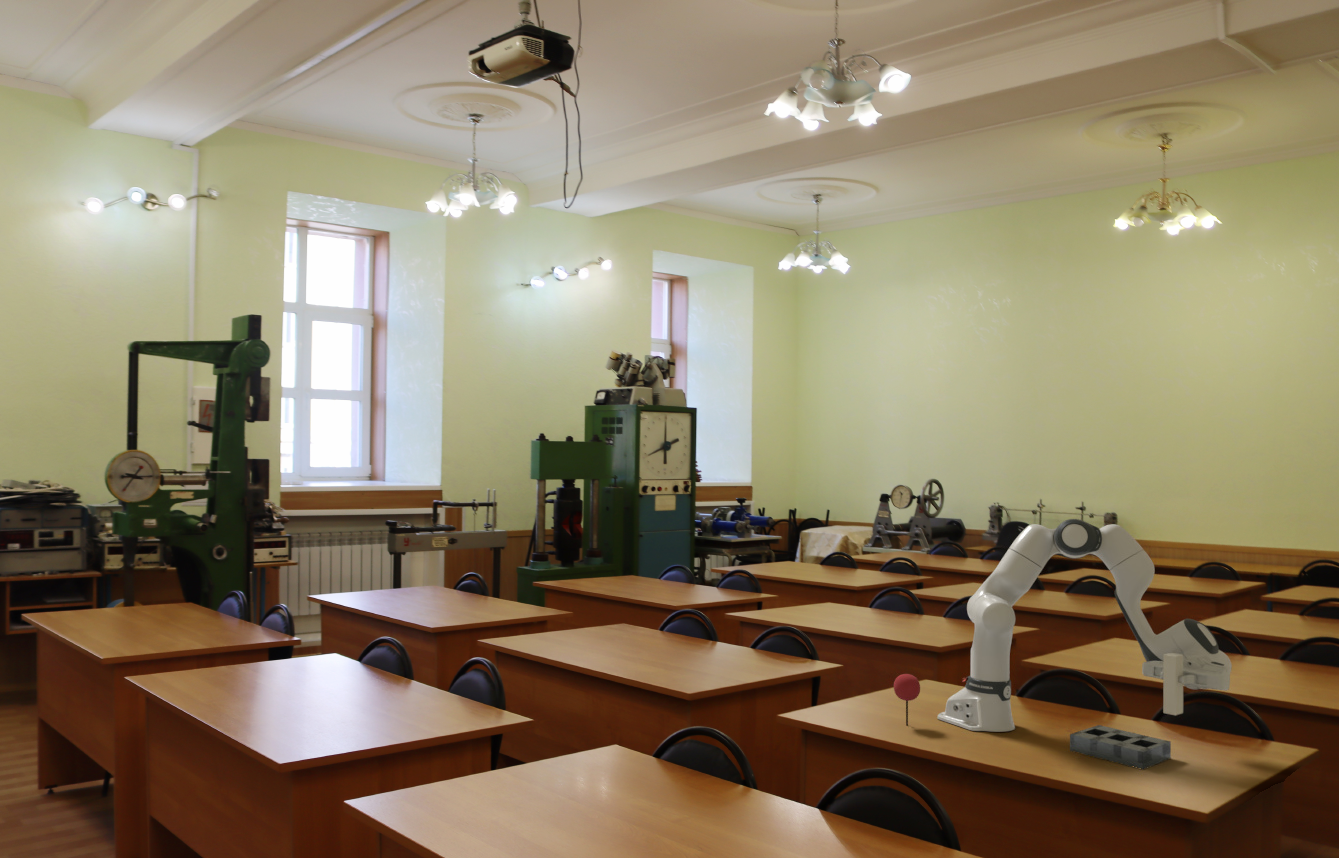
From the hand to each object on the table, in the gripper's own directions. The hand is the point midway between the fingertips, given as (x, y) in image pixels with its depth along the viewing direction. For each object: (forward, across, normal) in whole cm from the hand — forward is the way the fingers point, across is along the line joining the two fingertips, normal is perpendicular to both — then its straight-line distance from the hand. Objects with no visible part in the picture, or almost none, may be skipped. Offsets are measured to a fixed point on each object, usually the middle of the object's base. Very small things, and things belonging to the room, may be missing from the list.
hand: (1171, 678), depth 245 cm
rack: (-1, -14, +23) cm, 27 cm away
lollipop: (+23, -66, +24) cm, 74 cm away
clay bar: (-1, 0, +9) cm, 9 cm away
